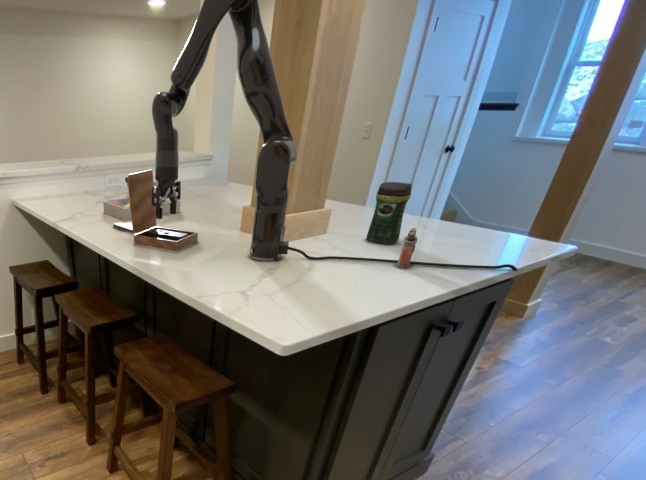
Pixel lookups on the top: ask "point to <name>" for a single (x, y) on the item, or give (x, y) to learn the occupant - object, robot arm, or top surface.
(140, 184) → the lid
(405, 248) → the lighter
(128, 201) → the product packaging
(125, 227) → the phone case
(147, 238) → the chest
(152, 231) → the remote
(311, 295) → the top surface
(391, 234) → the coffee jar
